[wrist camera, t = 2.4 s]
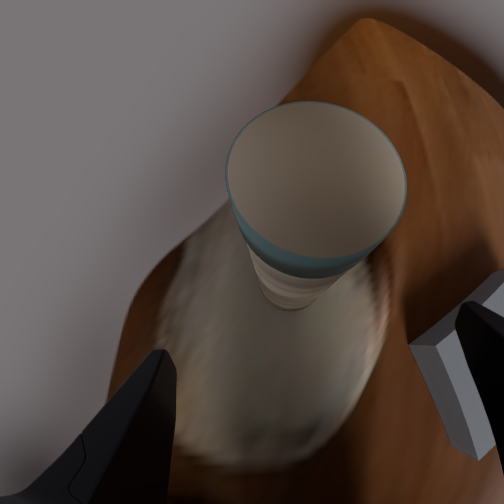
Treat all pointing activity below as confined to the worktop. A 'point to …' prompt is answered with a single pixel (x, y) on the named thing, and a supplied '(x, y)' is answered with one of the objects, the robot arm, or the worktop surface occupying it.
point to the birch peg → (312, 196)
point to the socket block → (458, 374)
